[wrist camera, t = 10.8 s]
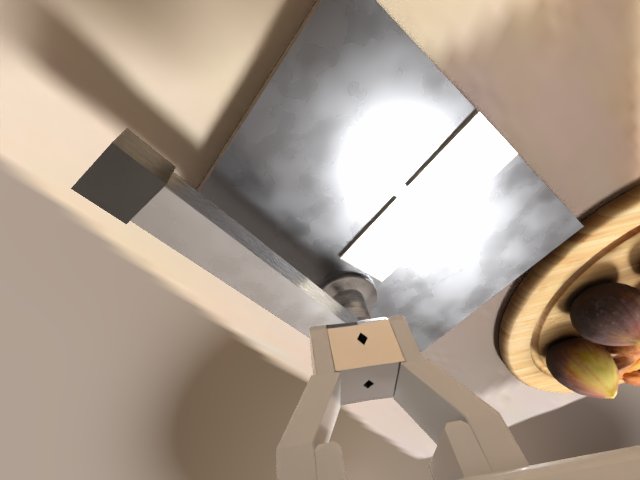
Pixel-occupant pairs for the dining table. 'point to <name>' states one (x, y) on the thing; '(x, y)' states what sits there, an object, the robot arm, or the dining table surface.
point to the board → (383, 177)
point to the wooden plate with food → (581, 309)
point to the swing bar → (203, 233)
